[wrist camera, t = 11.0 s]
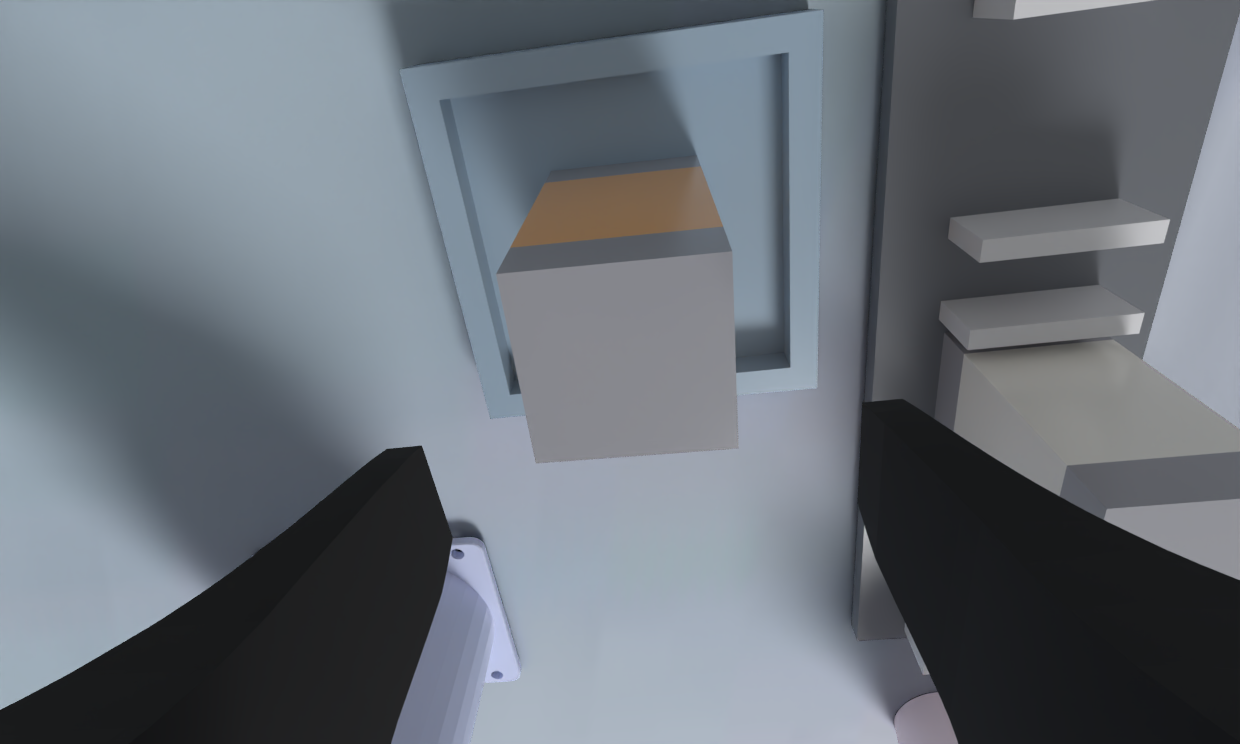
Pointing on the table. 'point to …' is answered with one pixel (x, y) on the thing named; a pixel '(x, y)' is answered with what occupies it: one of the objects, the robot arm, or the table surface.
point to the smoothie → (924, 722)
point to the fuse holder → (1026, 187)
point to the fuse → (1103, 439)
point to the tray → (630, 132)
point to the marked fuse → (623, 313)
